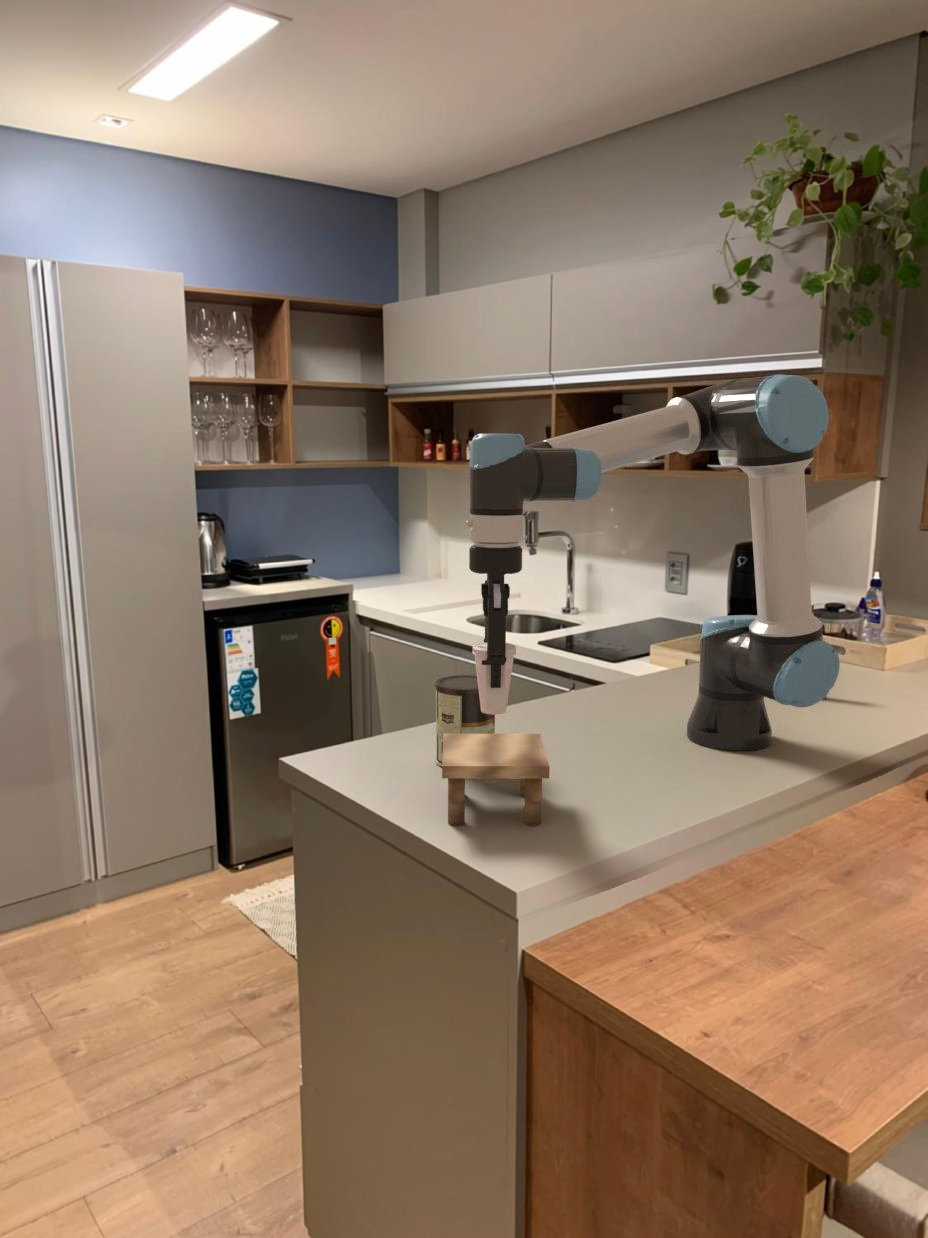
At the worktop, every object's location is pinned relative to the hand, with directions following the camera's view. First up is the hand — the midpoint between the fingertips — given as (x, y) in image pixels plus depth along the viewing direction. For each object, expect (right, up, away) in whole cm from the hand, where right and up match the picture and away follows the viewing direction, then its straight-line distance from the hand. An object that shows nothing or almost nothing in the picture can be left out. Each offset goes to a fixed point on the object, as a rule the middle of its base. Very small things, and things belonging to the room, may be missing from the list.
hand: (493, 701), depth 137 cm
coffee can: (-4, -13, +24) cm, 27 cm away
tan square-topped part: (0, -16, +3) cm, 16 cm away
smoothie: (0, -2, 0) cm, 2 cm away
